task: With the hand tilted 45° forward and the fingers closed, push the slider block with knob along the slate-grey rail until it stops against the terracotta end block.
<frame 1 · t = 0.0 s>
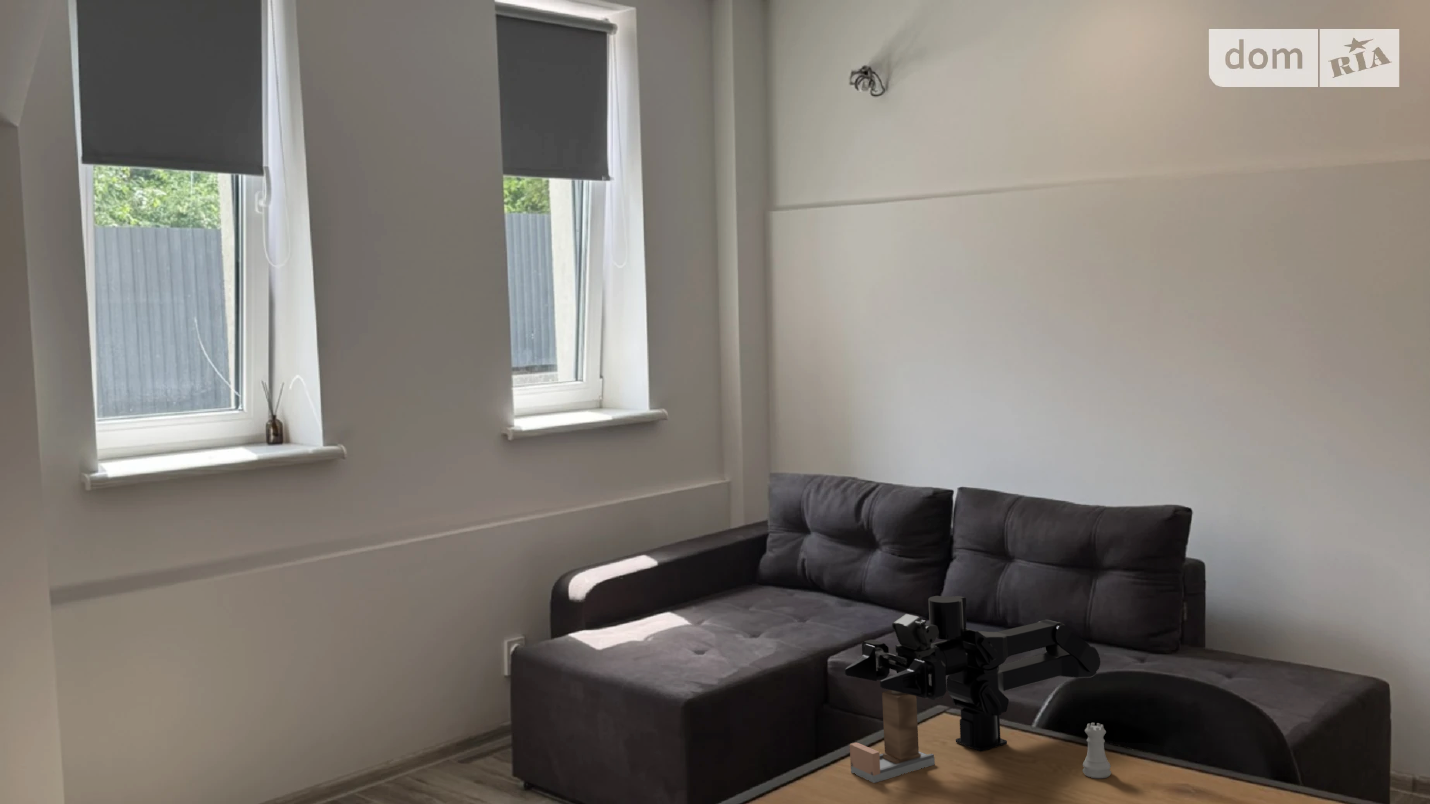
hand: (862, 678, 194), 17 cm above the table, tool horizontal, fingers open, 9 cm apart
rook chess piece: (1096, 775, 191), on the table
rail: (893, 768, 198), on the table
slider block with knob: (902, 765, 199), resting on rail, slide at 0.0 cm
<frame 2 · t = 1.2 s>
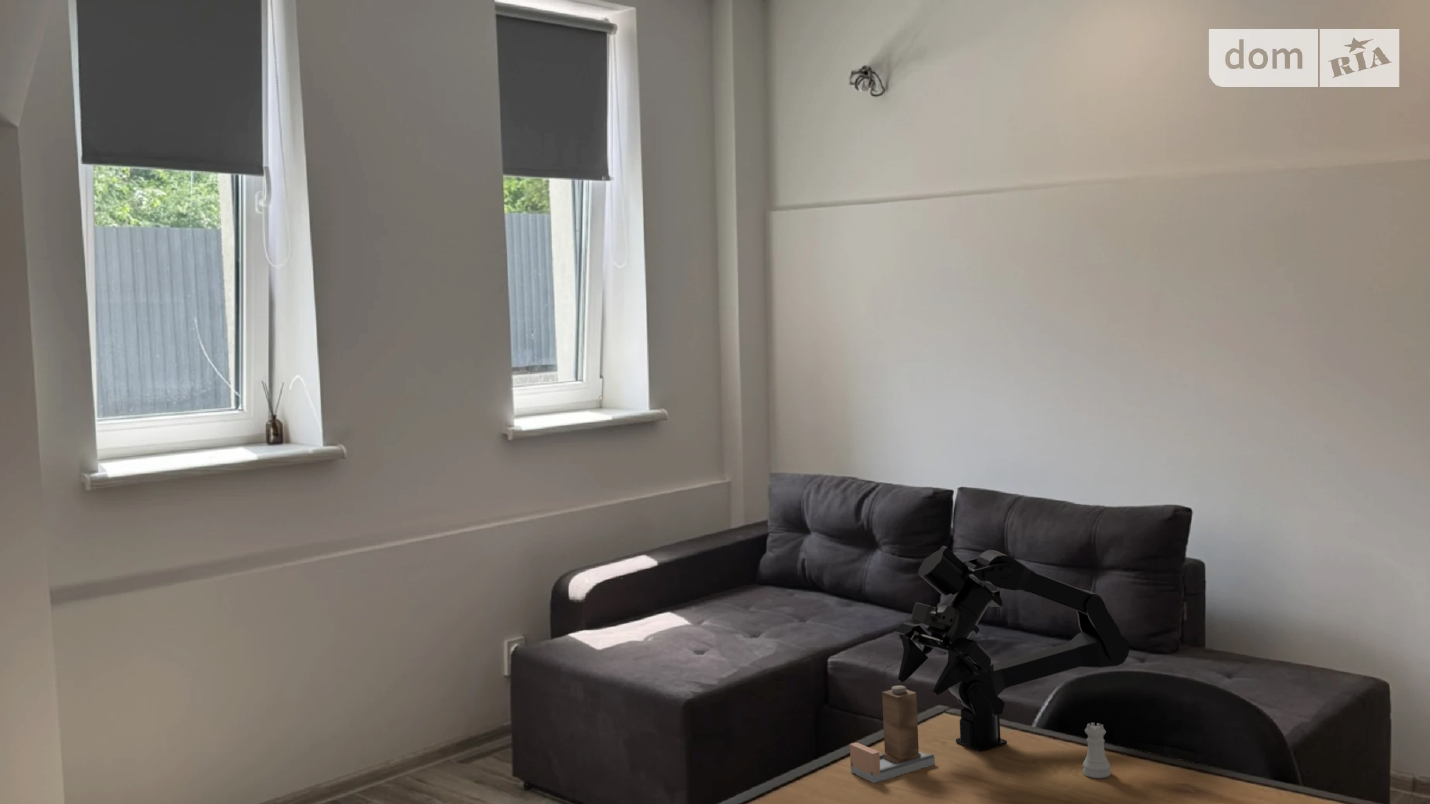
hand: (917, 687, 200), 13 cm above the table, tool tilted 45°, fingers open, 9 cm apart
nothing on the table moved.
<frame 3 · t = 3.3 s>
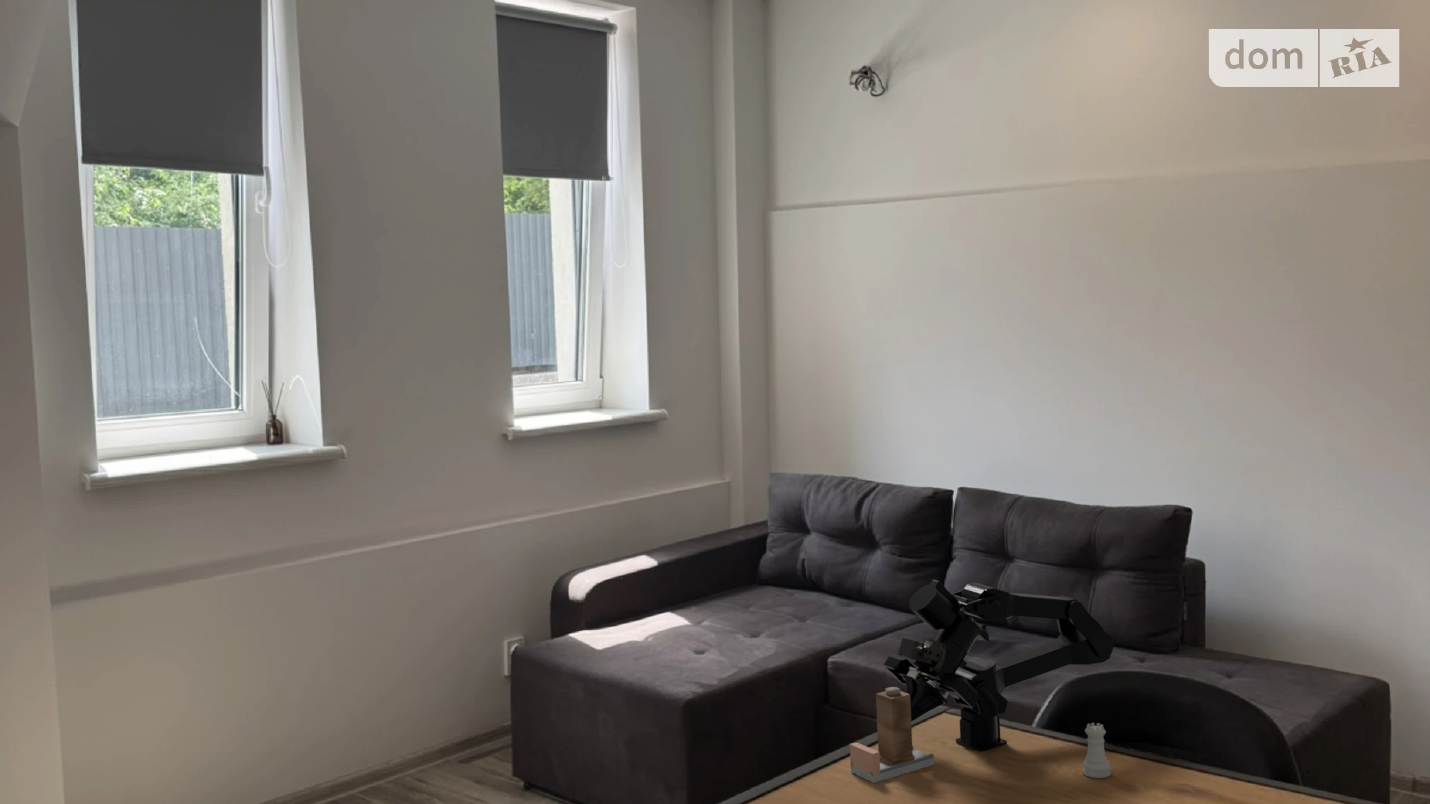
hand: (903, 722, 199), 7 cm above the table, tool tilted 45°, fingers closed
slider block with knob: (896, 767, 198), resting on rail, slide at 1.3 cm, touching gripper
everything else where it was.
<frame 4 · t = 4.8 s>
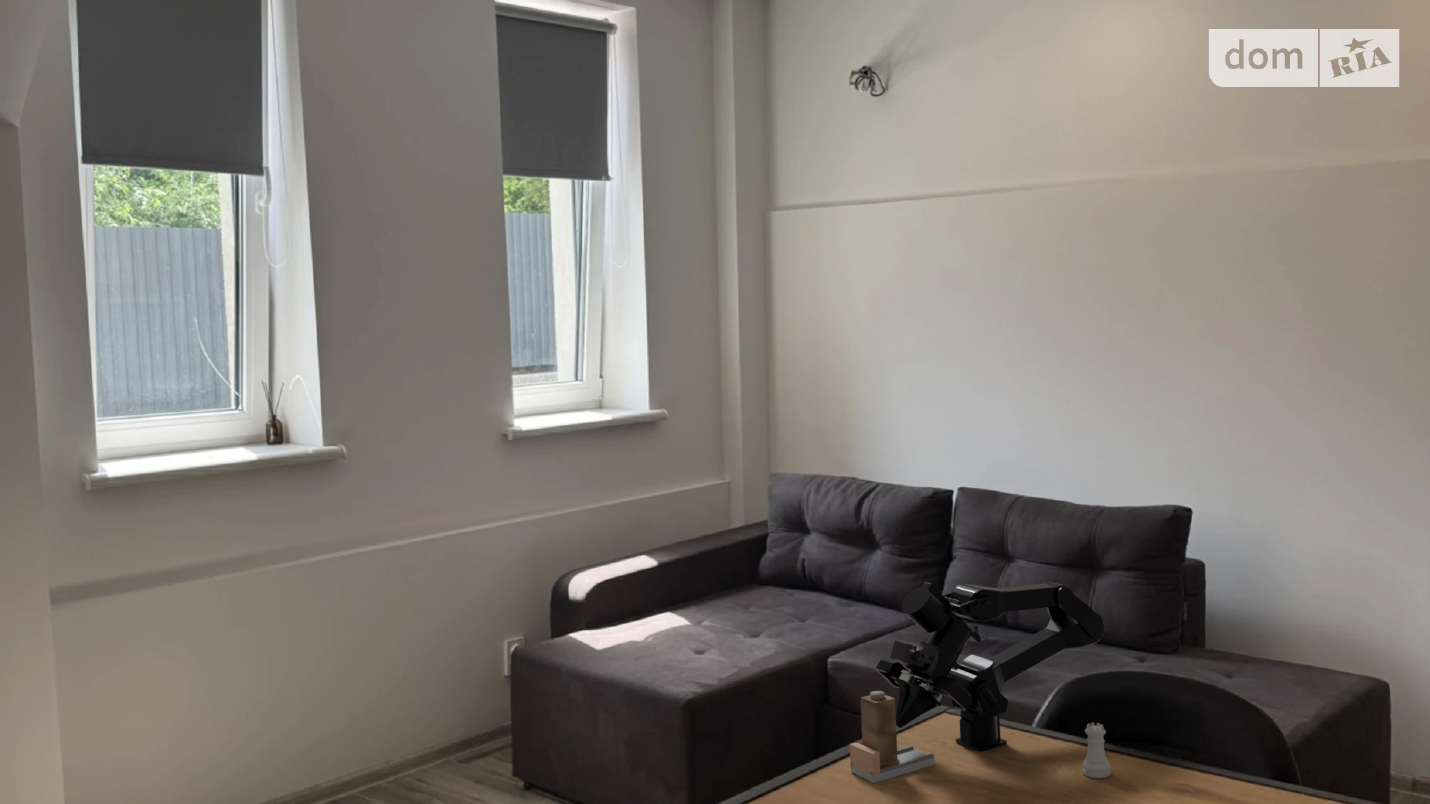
hand: (897, 726, 198), 7 cm above the table, tool tilted 45°, fingers closed
slider block with knob: (881, 772, 197), resting on rail, slide at 4.6 cm
everything else where it was.
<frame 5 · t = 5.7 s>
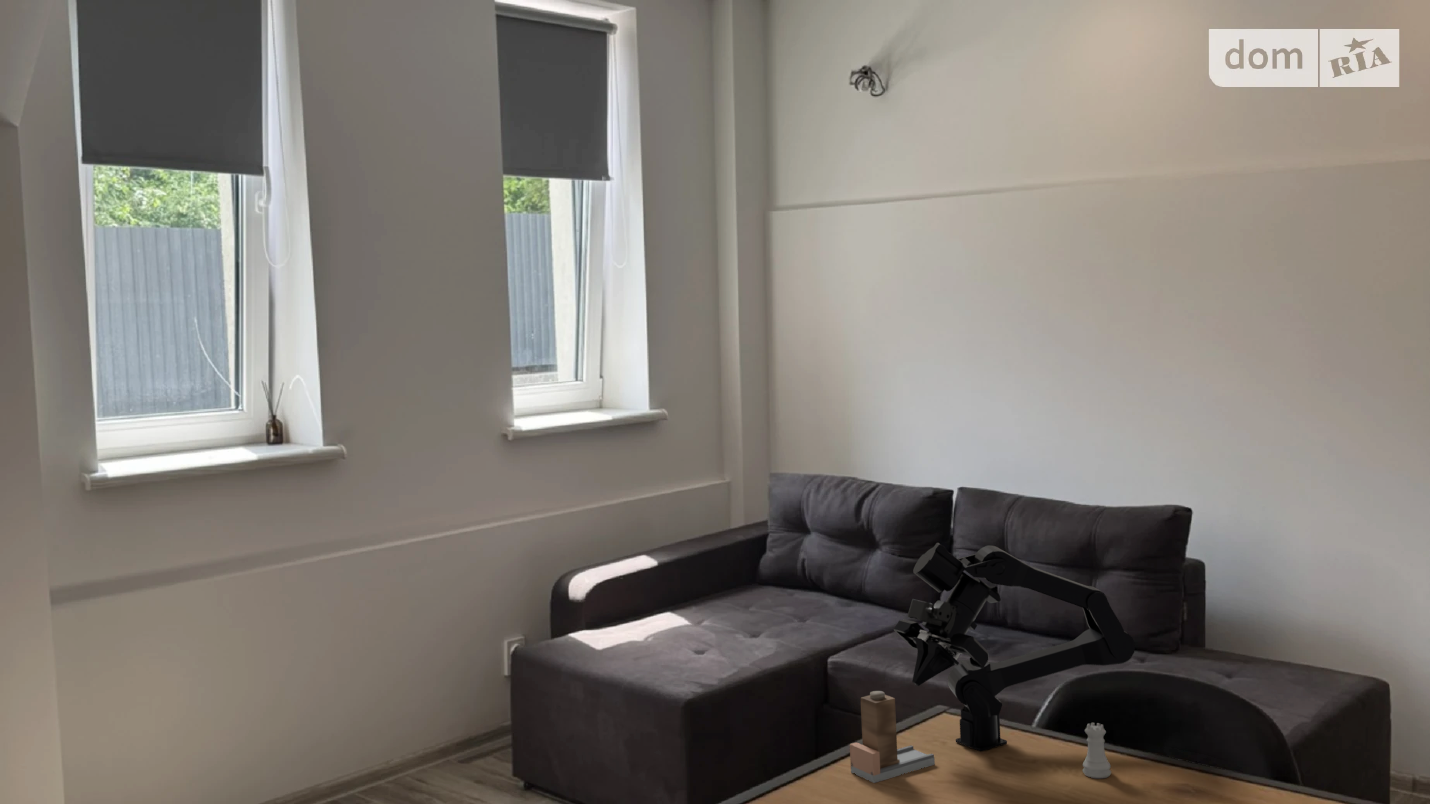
hand: (915, 684, 200), 13 cm above the table, tool tilted 45°, fingers closed
nothing on the table moved.
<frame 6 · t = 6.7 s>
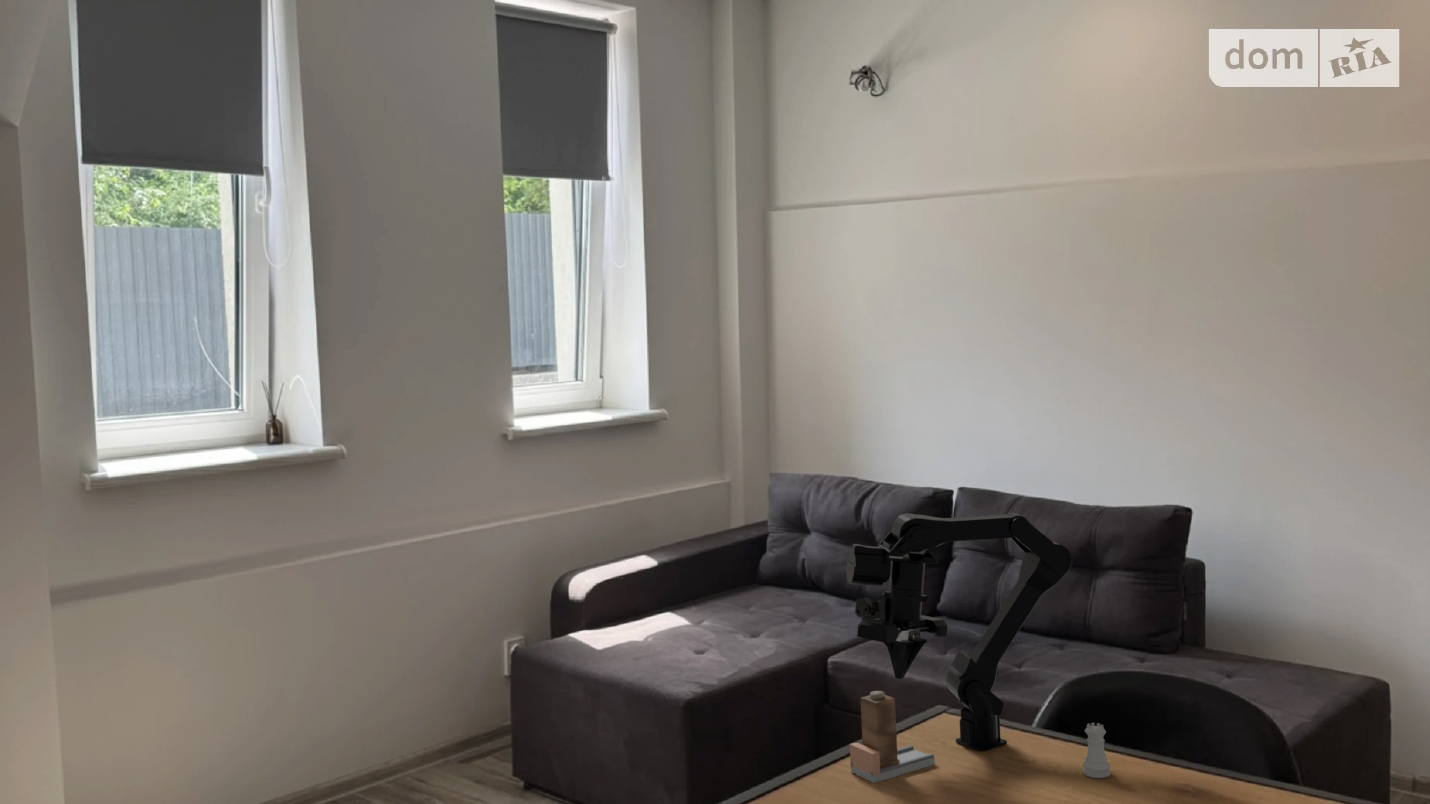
hand: (899, 678, 204), 13 cm above the table, tool pointing down, fingers closed
nothing on the table moved.
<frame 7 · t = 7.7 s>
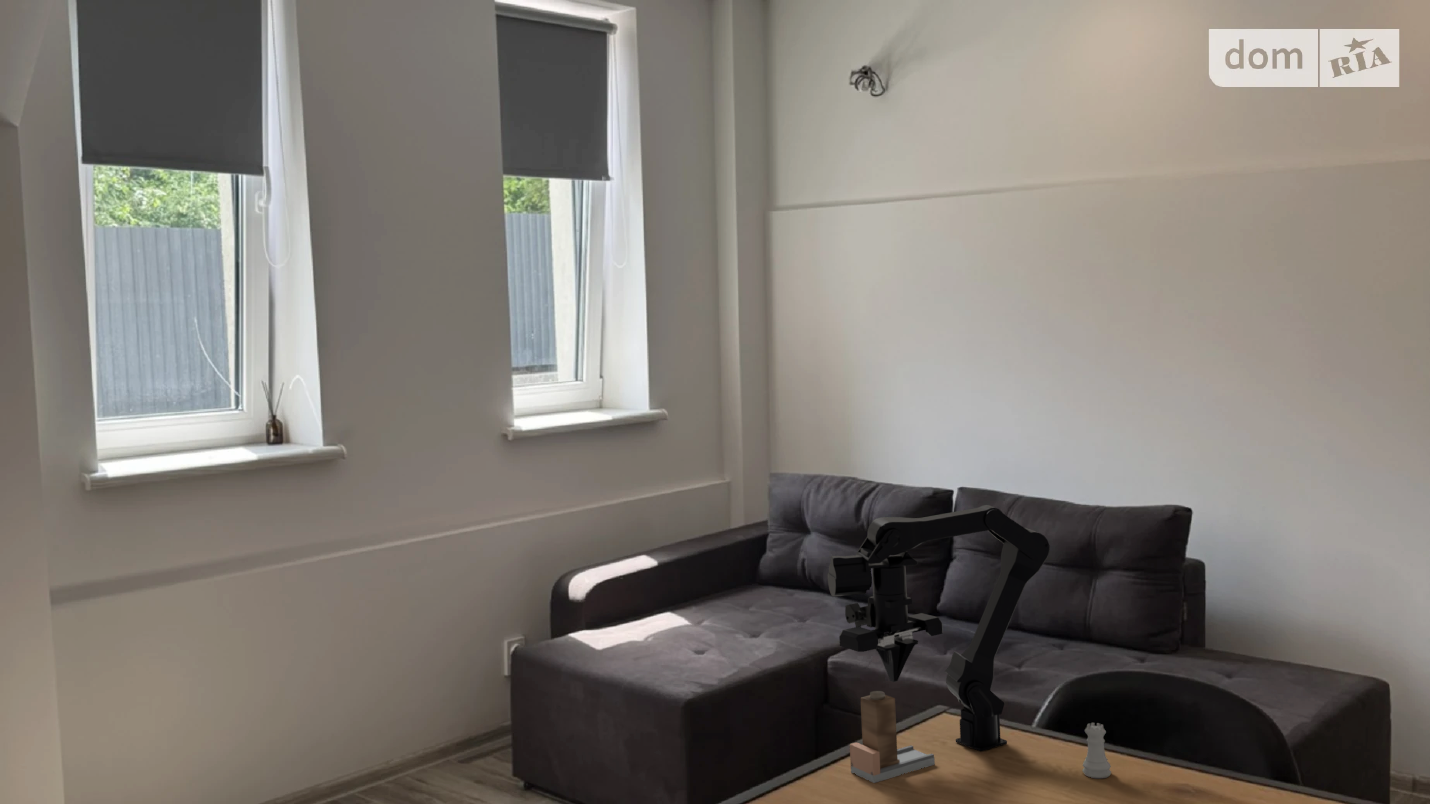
hand: (893, 681, 205), 12 cm above the table, tool pointing down, fingers closed
nothing on the table moved.
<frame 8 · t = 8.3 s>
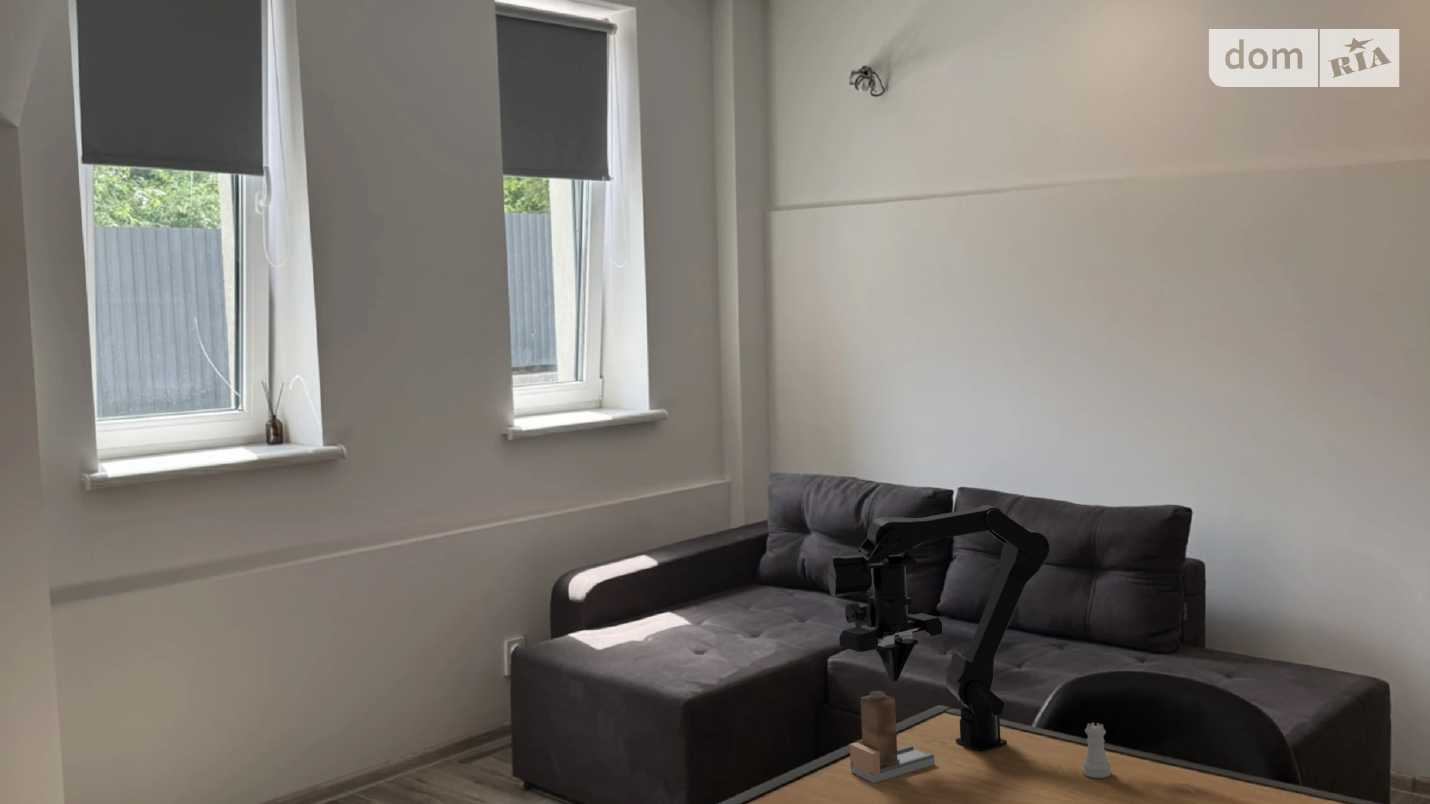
hand: (893, 681, 205), 12 cm above the table, tool pointing down, fingers closed
nothing on the table moved.
at the end: slider block with knob slide at 4.6 cm; the gripper is holding nothing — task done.
